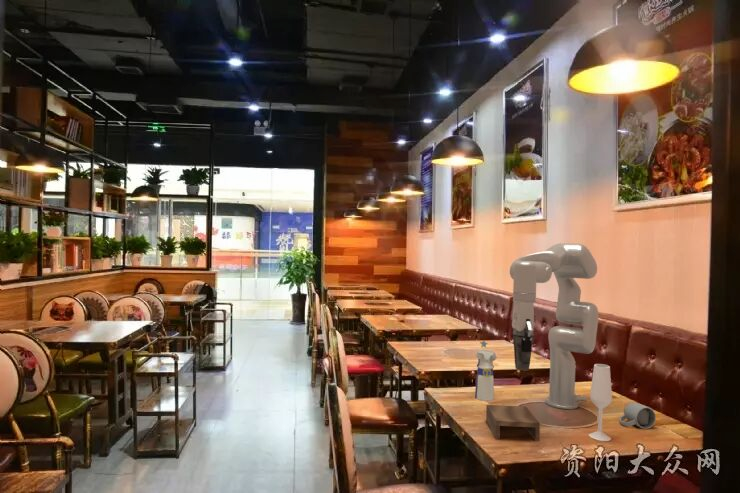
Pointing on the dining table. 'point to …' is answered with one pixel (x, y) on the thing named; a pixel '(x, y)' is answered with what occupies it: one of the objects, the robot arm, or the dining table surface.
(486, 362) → the water bottle
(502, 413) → the walnut shelf
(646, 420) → the ceramic mug
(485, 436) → the dining table surface
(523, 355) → the beverage cup
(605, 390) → the champagne flute
